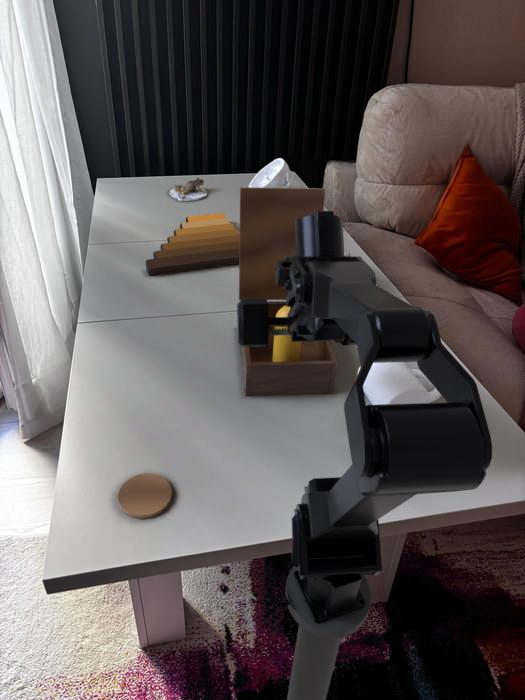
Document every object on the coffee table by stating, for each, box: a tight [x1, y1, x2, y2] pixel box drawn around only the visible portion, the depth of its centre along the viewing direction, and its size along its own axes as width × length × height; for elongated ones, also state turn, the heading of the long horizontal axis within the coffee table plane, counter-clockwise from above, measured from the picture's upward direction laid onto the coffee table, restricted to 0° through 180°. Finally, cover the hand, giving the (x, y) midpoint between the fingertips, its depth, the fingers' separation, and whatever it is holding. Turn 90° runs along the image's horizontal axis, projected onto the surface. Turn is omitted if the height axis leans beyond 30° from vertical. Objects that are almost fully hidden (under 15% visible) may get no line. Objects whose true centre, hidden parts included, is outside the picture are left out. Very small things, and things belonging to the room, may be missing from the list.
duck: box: [272, 306, 301, 362], centre depth 92 cm, size 6×5×12 cm
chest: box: [239, 300, 338, 397], centre depth 97 cm, size 20×15×6 cm
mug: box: [356, 362, 442, 405], centre depth 88 cm, size 12×10×8 cm
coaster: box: [117, 472, 173, 519], centre depth 73 cm, size 7×7×1 cm
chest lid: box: [238, 186, 326, 301], centre depth 100 cm, size 20×15×4 cm
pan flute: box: [145, 212, 240, 277], centre depth 134 cm, size 25×3×25 cm
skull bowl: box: [248, 157, 301, 188], centre depth 164 cm, size 10×14×12 cm
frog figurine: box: [168, 177, 208, 202], centre depth 164 cm, size 12×12×4 cm
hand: (296, 333), depth 83 cm, fingers open, 9 cm apart
